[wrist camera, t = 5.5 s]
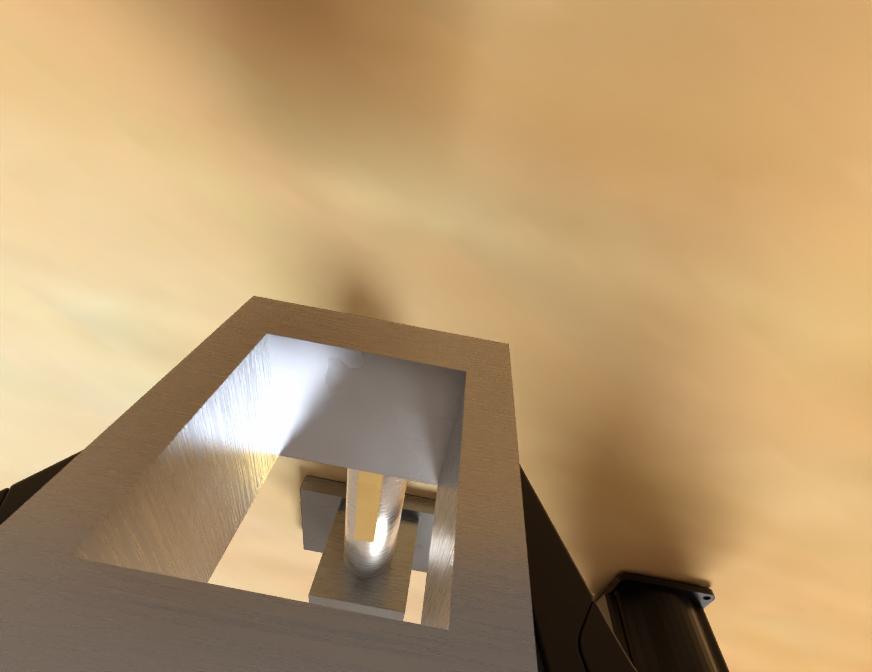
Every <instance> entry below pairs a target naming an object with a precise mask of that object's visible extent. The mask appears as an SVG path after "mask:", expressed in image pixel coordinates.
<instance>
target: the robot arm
mask: <svg viewBox="0 0 872 672" xmlns="http://www.w3.org/2000/svg"><path fill="white" fill-rule="evenodd" d="M82 451H83V450H82ZM82 451H80V452H78V453H76V454H74V455H72V456H70V457H68V458H66V459H64V460H62V461H60V462H58V463H56V464H54V465H52V466H50V467H48V468H46V469H44V470H42V471H40V472H38V473H36V474H34V475H32V476H30V477H28V478H26V479H23V480H21V481H19V482H17V483H15V484H13V485H12V486H11V487H10V489H9V488H5V489H3V490H1V491H0V525H1V524H2V523H3V522H4V521H6V520H7V519H8V518H9V517H10V516H11V515H12V514H13V513H14V512H16V511H17V510H18V509H19V508H20V507H21V506H22V505H23V504H24V503H25V502H27V501H28V500H29V499H30V498H31V497H32V496H33V495H34V494H35V493H37V492H38V491H39V490H40V489H41V488H42V487H43V486H44V485H45V484H46V483H48V482H49V481H50V480H51V479H52V478H53V477H54V476H55V475H56V474H57V473H59V472H60V471H61V470H62V469H63V468H64V467H65V466H66V465H67V464H69V463H70V462H71V461H72V460H73V459H74V458H75V457H76V456H77V455H78V454H80V453H81V452H82ZM519 466H520V464H519ZM520 477H521V489H522V500H523V511H524V523H525V534H526V545H527V556H528V568H529V579H530V590H531V602H532V613H533V624H534V636H535V647H536V658H537V670H538V672H729V670H728V667H727V665H726V662H725V660H724V658H723V655H722V653H721V650H720V648H719V646H718V643H717V641H716V638H715V636H714V634H713V631H712V629H711V626H710V624H709V622H708V619H707V617H706V614H705V612H704V610H703V608H705V607H706V606H707V605H708V604H709V603H711V602H712V601H713V600H714V599H715V596H714V594H713V591H712V590H711V589H709V588H704V587H698V586H693V585H688V584H682V583H677V582H672V581H667V580H661V579H656V578H651V577H645V576H640V575H635V574H629V573H622V574H619V575H618V576H617V577H616V578H615V580H614V581H613V582H612V583H611V584H610V586H609V587H608V588H607V589H606V590H605V592H604V593H603V594H602V595H601V596H600V598H599V599H598V600H597V601H596V602H595V601H593V596H592V594H591V592H590V590H589V588H588V587H587V585H586V583H585V581H584V579H583V578H582V576H581V574H580V572H579V570H578V569H577V567H576V565H575V563H574V561H573V560H572V558H571V556H570V554H569V552H568V551H567V549H566V547H565V545H564V543H563V542H562V540H561V538H560V536H559V534H558V533H557V531H556V529H555V527H554V525H553V524H552V522H551V520H550V518H549V516H548V514H547V513H546V511H545V509H544V507H543V505H542V504H541V502H540V500H539V498H538V496H537V495H536V493H535V491H534V489H533V487H532V486H531V484H530V482H529V480H528V478H527V477H526V475H525V473H524V471H523V469H522V468H521V466H520ZM592 601H593V602H592Z"/></svg>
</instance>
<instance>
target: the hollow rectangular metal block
mask: <svg viewBox="0 0 872 672" xmlns="http://www.w3.org/2000/svg"><path fill="white" fill-rule="evenodd" d="M279 455H281V456H286V457H292V458H297V459H302V460H307V461H312V462H318V463H323V464H328V465H333V466H339V467H344V468H349V469H354V470H359V471H365V472H370V473H375V474H380V475H385V476H391V477H396V478H401V479H406V480H411V481H417V482H422V483H427V484H432V485H438V486H437V495H436V503H435V511H434V520H433V528H432V536H431V544H430V553H429V561H428V569H427V578H426V586H425V594H424V603H423V611H422V619H421V625H420V624H415V623H410V622H405V621H399V620H394V619H389V618H384V617H379V616H374V615H369V614H363V613H358V612H353V611H348V610H343V609H338V608H332V607H327V606H322V605H317V604H312V603H307V602H302V601H296V600H291V599H286V598H281V597H276V596H271V595H266V594H260V593H255V592H250V591H245V590H240V589H235V588H229V587H224V586H219V585H214V584H209V583H207V582H208V581H209V579H210V577H211V575H212V574H213V572H214V570H215V568H216V566H217V565H218V563H219V561H220V559H221V557H222V556H223V554H224V552H225V550H226V549H227V547H228V545H229V543H230V541H231V540H232V538H233V536H234V534H235V532H236V531H237V529H238V527H239V525H240V524H241V522H242V520H243V518H244V516H245V515H246V513H247V511H248V509H249V507H250V506H251V504H252V502H253V500H254V499H255V497H256V495H257V493H258V491H259V490H260V488H261V486H262V484H263V482H264V481H265V479H266V477H267V475H268V474H269V472H270V470H271V468H272V466H273V465H274V463H275V461H276V459H277V457H278V456H279ZM0 672H538V670H537V658H536V647H535V636H534V624H533V613H532V602H531V590H530V579H529V568H528V556H527V545H526V534H525V523H524V511H523V500H522V489H521V477H520V466H519V455H518V443H517V432H516V421H515V409H514V398H513V387H512V376H511V364H510V353H509V344H505V343H499V342H494V341H489V340H484V339H478V338H473V337H468V336H463V335H457V334H452V333H447V332H441V331H436V330H431V329H426V328H420V327H415V326H410V325H405V324H399V323H394V322H389V321H383V320H378V319H373V318H368V317H362V316H357V315H352V314H346V313H341V312H336V311H331V310H325V309H320V308H315V307H310V306H304V305H299V304H294V303H288V302H283V301H278V300H273V299H267V298H262V297H257V296H253V297H252V298H251V299H250V300H248V301H247V302H246V303H245V304H244V305H243V306H242V307H241V308H240V309H239V310H237V311H236V312H235V313H234V314H233V315H232V316H231V317H230V318H229V319H228V320H226V321H225V322H224V323H223V324H222V325H221V326H220V327H219V328H218V329H216V330H215V331H214V332H213V333H212V334H211V335H210V336H209V337H208V338H207V339H205V340H204V341H203V342H202V343H201V344H200V345H199V346H198V347H197V348H195V349H194V350H193V351H192V352H191V353H190V354H189V355H188V356H187V357H186V358H184V359H183V360H182V361H181V362H180V363H179V364H178V365H177V366H176V367H175V368H173V369H172V370H171V371H170V372H169V373H168V374H167V375H166V376H165V377H163V378H162V379H161V380H160V381H159V382H158V383H157V384H156V385H155V386H154V387H152V388H151V389H150V390H149V391H148V392H147V393H146V394H145V395H144V396H142V397H141V398H140V399H139V400H138V401H137V402H136V403H135V404H134V405H133V406H131V407H130V408H129V409H128V410H127V411H126V412H125V413H124V414H123V415H122V416H120V417H119V418H118V419H117V420H116V421H115V422H114V423H113V424H112V425H110V426H109V427H108V428H107V429H106V430H105V431H104V432H103V433H102V434H101V435H99V436H98V437H97V438H96V439H95V440H94V441H93V442H92V443H91V444H90V445H88V446H87V447H86V448H85V449H84V450H83V451H82V452H81V453H80V454H78V455H77V456H76V457H75V458H74V459H73V460H72V461H71V462H70V463H69V464H67V465H66V466H65V467H64V468H63V469H62V470H61V471H60V472H59V473H57V474H56V475H55V476H54V477H53V478H52V479H51V480H50V481H49V482H48V483H46V484H45V485H44V486H43V487H42V488H41V489H40V490H39V491H38V492H37V493H35V494H34V495H33V496H32V497H31V498H30V499H29V500H28V501H27V502H25V503H24V504H23V505H22V506H21V507H20V508H19V509H18V510H17V511H16V512H14V513H13V514H12V515H11V516H10V517H9V518H8V519H7V520H6V521H4V522H3V523H2V524H1V525H0Z"/></svg>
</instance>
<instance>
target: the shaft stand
mask: <svg viewBox="0 0 872 672" xmlns="http://www.w3.org/2000/svg"><path fill="white" fill-rule="evenodd" d="M406 485H407V480H406V479H401V478H396V477H391V476H385V475H380V474H375V473H370V472H365V471H359V470H354V469H349V468H348V469H347V483H342V482H337V481H332V480H327V479H321V478H316V477H311V476H306V477H305V479H304V482H303V484H302V486H301V488H300V497H301V513H302V528H303V544H304V549H305V550H311V551H316V552H321V553H323V554H322V557H321V560H320V563H319V566H318V569H317V572H316V575H315V578H314V580H313V583H312V586H311V589H310V592H309V603H312V604H317V605H322V606H327V607H332V608H338V609H343V610H348V611H353V612H358V613H363V614H369V615H374V616H379V617H384V618H389V619H394V620H399V621H403V618H404V614H405V608H406V601H407V595H408V588H409V582H410V575H411V570H416V571H422V572H427V569H428V561H429V553H430V544H431V536H432V528H433V520H434V511H435V503H436V500H433V499H427V498H422V497H417V496H411V495H406V494H405V491H406Z"/></svg>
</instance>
